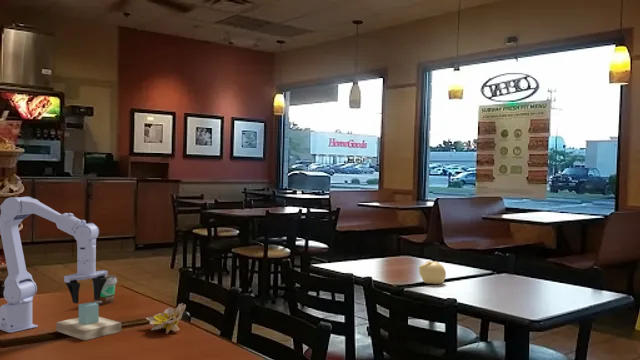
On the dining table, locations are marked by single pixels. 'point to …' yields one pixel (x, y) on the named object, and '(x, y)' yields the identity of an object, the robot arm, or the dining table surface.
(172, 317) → the decorative flower
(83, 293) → the dining table surface
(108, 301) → the food container
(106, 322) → the flat cream rectangular board
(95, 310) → the teal block
